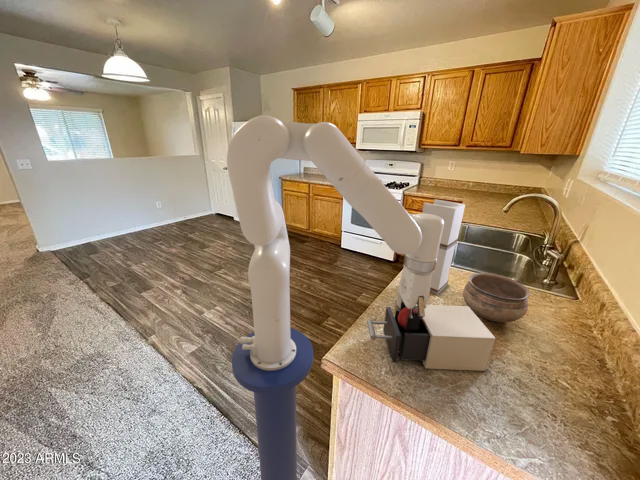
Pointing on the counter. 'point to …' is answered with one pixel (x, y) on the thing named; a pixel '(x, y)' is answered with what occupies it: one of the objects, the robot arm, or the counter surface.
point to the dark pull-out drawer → (402, 338)
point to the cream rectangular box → (456, 339)
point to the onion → (404, 316)
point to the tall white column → (445, 239)
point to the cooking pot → (496, 297)
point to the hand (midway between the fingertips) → (408, 320)
